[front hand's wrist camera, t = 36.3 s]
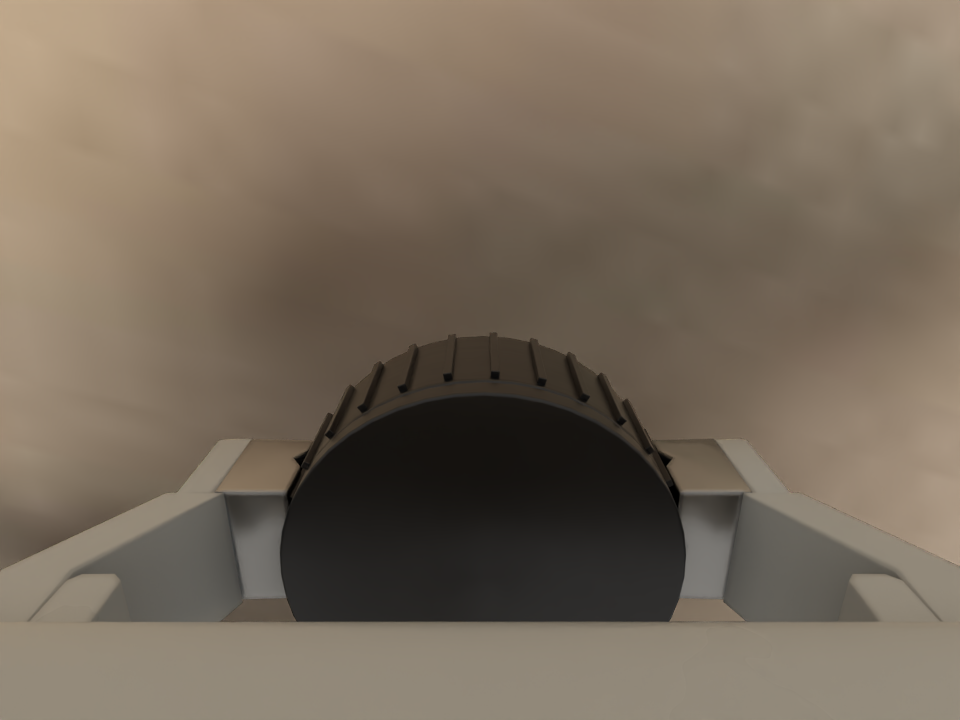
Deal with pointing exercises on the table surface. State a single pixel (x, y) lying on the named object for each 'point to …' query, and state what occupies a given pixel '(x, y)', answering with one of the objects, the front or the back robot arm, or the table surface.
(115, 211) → the table surface
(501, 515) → the lid
